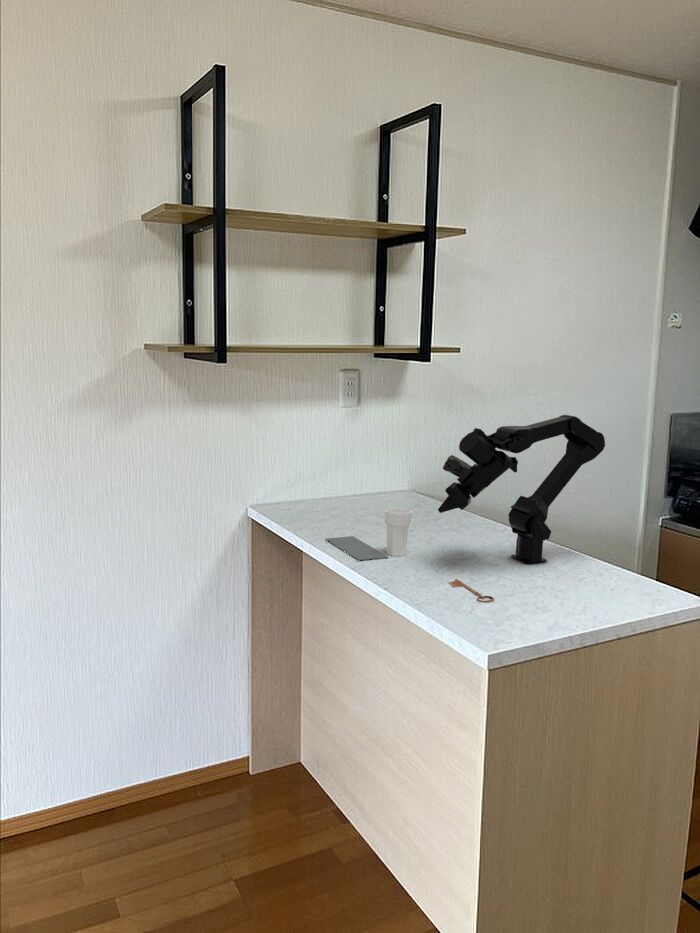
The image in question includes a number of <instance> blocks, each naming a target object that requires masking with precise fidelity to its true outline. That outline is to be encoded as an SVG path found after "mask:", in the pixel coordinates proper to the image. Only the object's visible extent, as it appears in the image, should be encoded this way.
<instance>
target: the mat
mask: <svg viewBox="0 0 700 933" xmlns="http://www.w3.org/2000/svg"><path fill="white" fill-rule="evenodd" d="M326 540H328V541H329V542H330V543H329V542H328V541H327V542H328V543H329V544H331V543H332V544H331V545H333V546H334V545H335V546H334V547H336V546H337V547H338V548H337V547H336V548H337V549H339V548H340V549H342V550H343V551H342V550H341V551H342V552H344V551H345V552H346V553H345V552H344V553H345V554H347V553H348V554H349V555H348V554H347V555H348V556H350V555H351V556H352V558H353V557H354V558H353V559H355V558H356V559H357V560H356V559H355V560H356V561H358V560H359V561H358V562H361V561H360V560H366V561H371V560H370V559H376V560H381V559H380V558H385V559H389V555H387V554H384V553H383V552H381V551H379V550H378V549H375V547H373V546H370V545H369V544H367V543H366V542H364V541H362V540H361V539H358V538H357V537H355V536H353V535H350V536H337V537H328V538H325V541H326ZM340 549H339V550H340ZM351 556H350V557H351Z"/></svg>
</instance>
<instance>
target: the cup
mask: <svg viewBox="0 0 700 933" xmlns="http://www.w3.org/2000/svg"><path fill="white" fill-rule="evenodd" d="M412 512H413V511H412V510H410V509H407V508H401V507H390V508H387V509H385V510H384V523H385V525H386V555H388V554H389V555H388V556H391V555H392V556H391V557H404V556H406V555H407V546H408V538H409V530H410V529H409V528H410V527H409V526H410V525H411V522H412ZM403 555H404V556H403Z"/></svg>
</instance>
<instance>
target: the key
mask: <svg viewBox="0 0 700 933" xmlns="http://www.w3.org/2000/svg"><path fill="white" fill-rule="evenodd" d="M447 584H449V585H450V586H451V587H452V588H464V589H466V590H468V591H469V592H470V593H472V595H475V596H476V597H477V598H476V602H478V603H483V604H485V603H486V604H487V603H488V604H489V603H492V602H493V601H494V600H495V598H494V597H493V596H491V595H490V596H489V595H482V594H481V593H480V592H478V591H477V590H474V589H473V588H472V587H470V586H469V585H467V584H465V583H464V582H463V581H461V580H459V579H458V578H455V579H454V580H452V581H450V582H449V581H448V582H447ZM485 599H486V600H485Z"/></svg>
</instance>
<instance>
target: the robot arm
mask: <svg viewBox="0 0 700 933" xmlns="http://www.w3.org/2000/svg"><path fill="white" fill-rule="evenodd" d="M559 436H563V437H564V438H565V439H566V440H567V442H566V448H565V453H564V455H563V456H562V458H560V460H559V461H558V462H557V464H555V466H554V468H553V469H552V470H551V471H550V472H549V474H548V475H547V476H546V477H545V478H544V479H543V481H542V482H541V484H540V485H539V486H538V487H537V489H536V490H535V491H534V492H533V494H532V495H530V496H528V497H526V496H524V495H520V496H519V497H518V498H517V499H516V501H515V503H514V504H512V505H511V506H510V509H511V510H509V513H508V515H507V516H508V522H509V525H510V527H511V531H512V533H513V534H516V535H517V538H516V542H515V543H516V545H515V554H511V556H510V557H511V559H513V560H517V561H518V562H521V563H523V564H526V565H529V564H537V563H538V564H540V563H546V562H547V559H545V558H543V549H544V548H543V546H544V541H546V540H549V539H550V537H551V534H552V530H551V529H550V527H549V526H548V525H547V524H546V521H547V519H548V513H549V507H550V506H551V505H552V504H553V502H554V501H555V500H556V498H557V497H558V496H559V495H560V493H561V492H562V491H563V489H565V487H566V486H567V484H568V483H569V482H570V481H571V479H572V478H573V477H574V475H575V474H576V473H577V472H578V471H579V469H580V468H581V467H582V466H583V465H585V464H586V463H589V462H591V461H593V460H594V459H596V458H597V457H598V456H599V455H600V454H601V453H602V452H603V451H604V450H605V446H606V440H605V436H604V434H603V433H602V432H599V431H597V430H596V429H594V428H593V427H591V426H590V425H587V424H586V423H584V421H582V420H581V419H580V418H579V417H578V416H576V415H575V416H574V415H569V414H562V415H559V416H558V417H554V418H550V419H545V420H542V421H539V422H536V423H532V424H528V425H505V426H504V425H502V426H500V427H498V428H497V429H496V431H495V432H493V433H491V434H489V435H488V434H486V433H485V431H483V430H482V429H481V428H477V427H475V428H473V430H472V431H471V432H469V433H467V434H466V435H465V436H464V437H462V438H461V440H460V442H459V445H458V448H459V451H460V452H461V453H462V454H464V455H465V456H466V457H467V458H469V460H471V461H473V462H474V464H473V465H470V464H469V463H467V462H466V461H464V460H463V459H460V458H459V457H457V456H455V455H453V454H450V455H449V456H448V457H447V459H446V461H444V464H443V467H442V469H443V470H444V471H445V472H448V473H450V474H452V475H454V476H455V477H457V478H456V480H457V481H458V482H452V483H451V484H450V485H448V486H447V487H446V488H445V489H444V491H445V493H446V494H447V497H446V499H445V500H444V501H443V502H442V503H441V505H440V506H439V507H438V509H437V511H438V513H440V514H442V513H444V512H448V511H451V510H455V509H460V510H462V511H463V510H464V509H465V508H467V507H468V506H469V505H470V504H471V503H472V498H473V499H475V498H476V497H477V496H478V495H480V494H481V492H482V491H485V489H487V488H488V487H490V485H491V484H492V483H494V482H495V481H496V480H497V479H498V478H499V477H501V476H502V475H503V474H504V473H506V472H507V471H508V470H509V469H510V470H511V471H512V472H513V473H517V472H518V464H519V461H518V460H517V457H515V456H509V455H508V454H507V453H505V452H509V453H513V454H520V453H522V452H524V451H526V450H529V449H530V448H531V447H532V445H533V444H535V443H537V442H542V441H544V440H548V439H551V438H555V437H559ZM504 451H505V452H504Z"/></svg>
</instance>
